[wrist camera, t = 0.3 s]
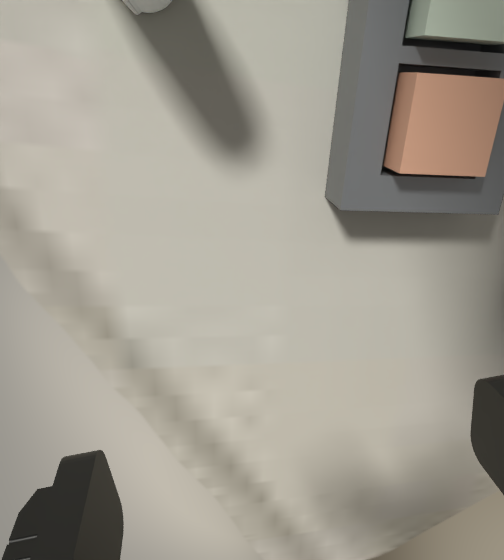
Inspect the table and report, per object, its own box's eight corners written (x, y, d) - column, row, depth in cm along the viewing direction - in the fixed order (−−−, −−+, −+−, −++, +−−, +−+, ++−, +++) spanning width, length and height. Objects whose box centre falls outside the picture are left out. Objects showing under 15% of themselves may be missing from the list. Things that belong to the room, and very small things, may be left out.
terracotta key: (398, 72, 31) (417, 72, 29) (483, 78, 32) (509, 79, 30) (383, 165, 34) (399, 173, 31) (462, 169, 34) (484, 176, 32)
